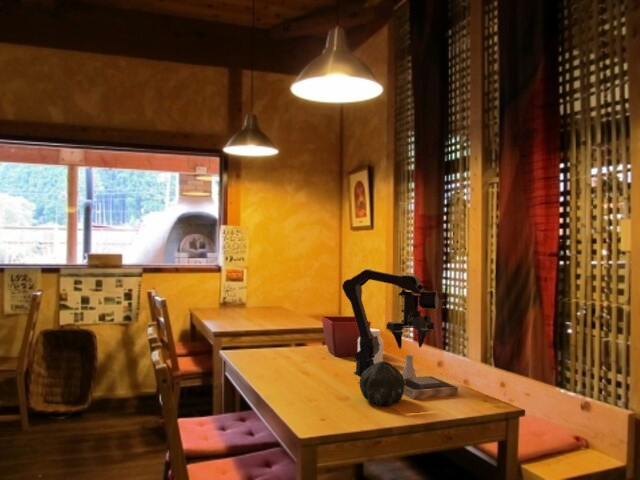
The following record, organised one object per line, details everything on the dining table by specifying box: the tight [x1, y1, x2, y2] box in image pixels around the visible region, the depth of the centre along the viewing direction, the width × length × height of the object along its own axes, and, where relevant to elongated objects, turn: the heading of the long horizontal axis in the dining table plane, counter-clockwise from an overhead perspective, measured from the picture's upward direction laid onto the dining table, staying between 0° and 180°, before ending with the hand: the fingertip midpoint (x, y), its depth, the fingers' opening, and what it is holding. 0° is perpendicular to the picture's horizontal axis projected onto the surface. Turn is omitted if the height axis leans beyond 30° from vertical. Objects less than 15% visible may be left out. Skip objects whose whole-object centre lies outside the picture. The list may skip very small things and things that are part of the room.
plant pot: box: [321, 315, 371, 357], centre depth 257 cm, size 19×19×17 cm
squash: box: [359, 360, 405, 407], centre depth 178 cm, size 14×15×15 cm
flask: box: [401, 354, 417, 378], centre depth 208 cm, size 7×7×10 cm
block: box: [406, 376, 441, 390], centre depth 191 cm, size 9×9×4 cm
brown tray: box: [403, 375, 459, 401], centre depth 191 cm, size 18×16×4 cm
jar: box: [358, 327, 384, 364], centre depth 237 cm, size 12×10×15 cm
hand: (410, 347), depth 208 cm, fingers open, 9 cm apart
